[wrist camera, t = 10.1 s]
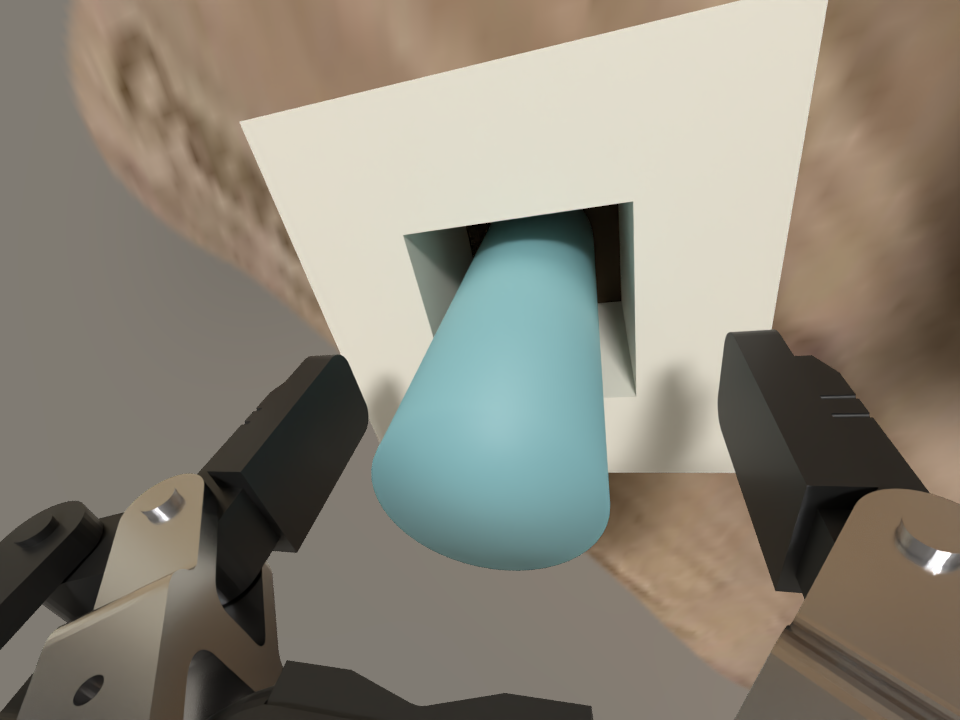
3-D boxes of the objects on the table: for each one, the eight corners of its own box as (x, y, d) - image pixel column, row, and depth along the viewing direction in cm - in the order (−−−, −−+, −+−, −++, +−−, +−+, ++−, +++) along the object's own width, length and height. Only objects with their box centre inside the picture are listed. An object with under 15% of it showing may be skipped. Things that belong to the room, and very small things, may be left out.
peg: (589, 181, 16) (603, 404, 6) (596, 286, 18) (615, 576, 8) (478, 199, 17) (336, 414, 7) (497, 296, 19) (408, 564, 9)
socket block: (733, 3, 12) (831, -21, 8) (704, 362, 19) (746, 472, 14) (346, 97, 15) (239, 121, 11) (434, 377, 22) (392, 472, 17)
